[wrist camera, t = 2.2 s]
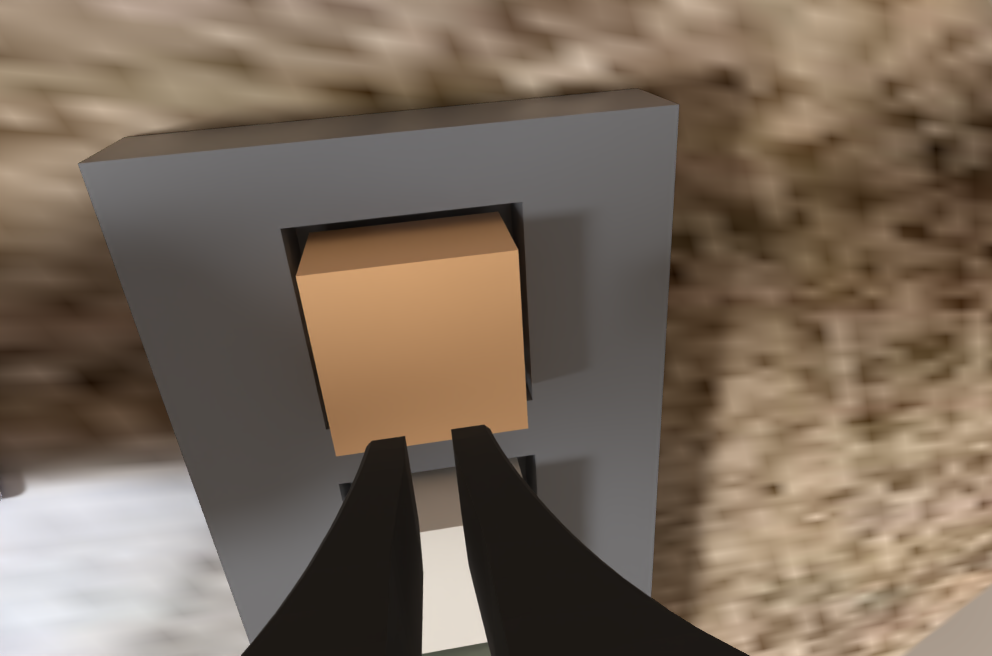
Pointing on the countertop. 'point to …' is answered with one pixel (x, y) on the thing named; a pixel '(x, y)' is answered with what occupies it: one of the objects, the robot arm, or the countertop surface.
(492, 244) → the orange key
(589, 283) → the keypad
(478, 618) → the white key
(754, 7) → the countertop surface
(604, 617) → the robot arm
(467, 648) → the sage key
